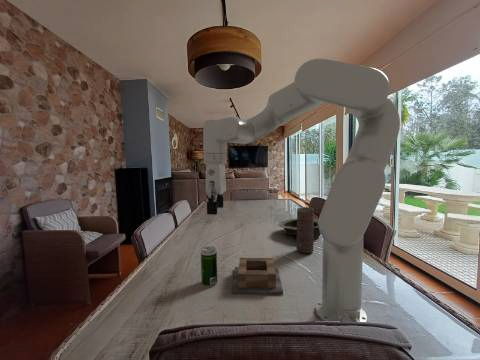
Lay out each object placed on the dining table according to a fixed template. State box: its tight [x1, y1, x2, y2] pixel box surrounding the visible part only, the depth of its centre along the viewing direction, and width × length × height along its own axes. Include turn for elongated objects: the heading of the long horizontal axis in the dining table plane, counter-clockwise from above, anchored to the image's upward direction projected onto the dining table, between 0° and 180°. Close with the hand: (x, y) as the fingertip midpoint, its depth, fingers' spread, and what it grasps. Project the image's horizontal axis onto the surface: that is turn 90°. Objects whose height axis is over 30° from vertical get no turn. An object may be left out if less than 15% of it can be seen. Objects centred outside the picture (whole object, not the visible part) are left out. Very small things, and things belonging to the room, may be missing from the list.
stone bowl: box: [277, 217, 322, 240], centre depth 126 cm, size 25×25×9 cm
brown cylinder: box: [295, 206, 315, 254], centre depth 103 cm, size 8×7×20 cm
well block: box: [231, 257, 284, 296], centre depth 80 cm, size 16×16×6 cm
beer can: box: [200, 246, 218, 288], centre depth 78 cm, size 5×5×12 cm
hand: (215, 210), depth 77 cm, fingers open, 9 cm apart
